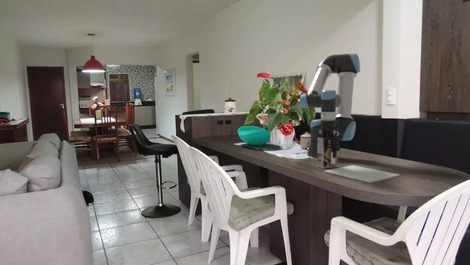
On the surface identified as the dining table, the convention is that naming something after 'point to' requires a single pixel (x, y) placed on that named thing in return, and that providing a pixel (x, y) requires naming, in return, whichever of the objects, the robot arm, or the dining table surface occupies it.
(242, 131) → the table top decor
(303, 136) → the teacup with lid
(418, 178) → the dining table surface
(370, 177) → the mat
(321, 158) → the coffee box
